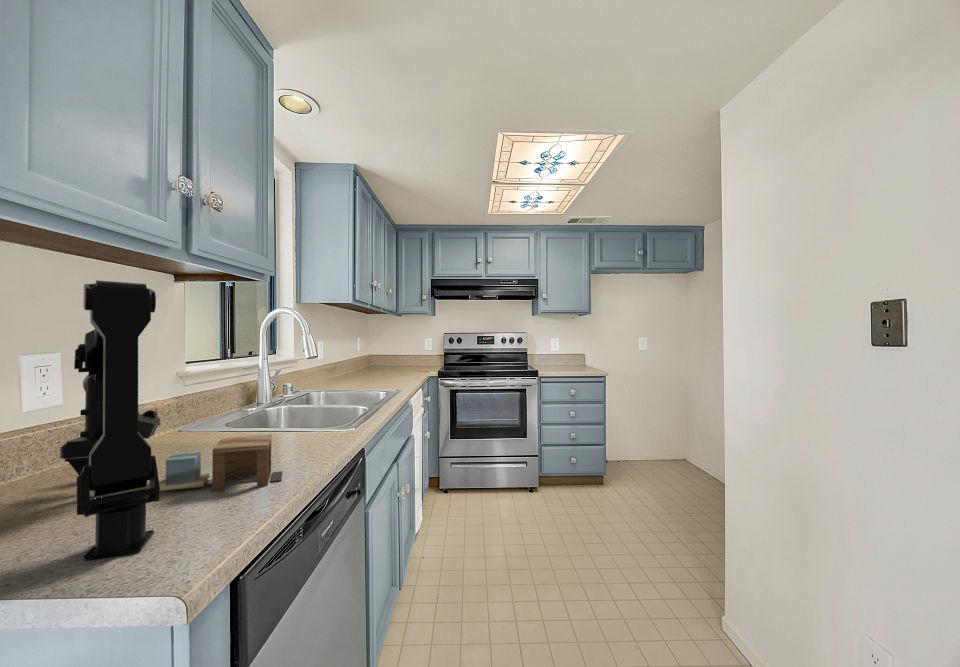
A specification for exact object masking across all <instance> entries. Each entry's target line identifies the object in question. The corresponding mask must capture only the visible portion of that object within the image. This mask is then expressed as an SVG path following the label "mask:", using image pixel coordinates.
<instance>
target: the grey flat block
mask: <svg viewBox="0 0 960 667" xmlns="http://www.w3.org/2000/svg"><path fill="white" fill-rule="evenodd" d="M283 474H284V472H283V471H282V470H280V471H273V472H272V475H271V478H270V483H277V482H278V483H279V482H282V477H283Z"/></svg>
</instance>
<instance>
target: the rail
mask: <svg viewBox="0 0 960 667" xmlns="http://www.w3.org/2000/svg"><path fill="white" fill-rule="evenodd" d="M270 477H271V474H270V473H268V481H269V480H270V479H271V478H270ZM249 482H251V483H252V482H257V474H253V475H243V476H234V477H225V485H233V484H242V483H243V484H244V483H249ZM205 487H206V488H207V487H212V479H208V480H207V481H206V483H205V484H204V486H200V487H191V488H182V489H181V490H187V489H197V488H205ZM177 490H180V489H172V490H163V491H160V493H161V492H168V491H169V492H170V491H177ZM123 493H127V492H123ZM117 494H122V493H114V494H106V495H101V496H96V497H94V496H90V500H92V499H94V498H96V499H97V498H101V497H107V496H112V495H117Z"/></svg>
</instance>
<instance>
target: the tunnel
mask: <svg viewBox="0 0 960 667" xmlns="http://www.w3.org/2000/svg"><path fill="white" fill-rule="evenodd" d="M270 473H272V434H263V435H250V436H249V435H248V436H246V435H245V436H237V437H235V436H234V437H223V438H220V440H219V441H218V442H217V443H216V445H214V447H213V448H212V478H211V480H212V486H211V488H212V489H211V490H212V491H211V492H212V493H213V492H221V491H225V478H233V477H243V476H253V475H257V481H256V487H265V486H268V485H269V480H268V474H270Z"/></svg>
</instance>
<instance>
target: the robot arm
mask: <svg viewBox="0 0 960 667" xmlns="http://www.w3.org/2000/svg"><path fill="white" fill-rule="evenodd" d="M156 298H157V296H156V292H155V291H154V290H153V289H152V288H148V286H147V284H146V283H136V282H125V281H124V282H123V281H122V282H121V281H112V280H111V281H110V280H109V281H108V280H97V279H96V280H95V283H85V284H83V309H84V311H90V312H89V315H90V316H89V321H90V324H91V325H92V327H93V328H94V329H92V330H90V331H89V332H86V333H85V334H84V335H85V336H84V342H83V343H80V344H78V345H77V348H75V350H74V363H73V366H74V368H73V369H74V370H77V372H78V373H88V374H87V375H86V376H85V377H84V379H83V381H82V388H83V390H84V391H85V406H84V408H83V409H81V410H80V413H79V414H80V416H83V417H84V416H85V417H84V420H85V421H84V430H83V431H80V432H79V437H75V438H74V439H71V440H69V441H67V442H65V443H64V444H63V445H62V446H61V447H60V451H59V452H60V454H59V455H60V459H62V460H63V459H64V461H65V462H67V463H68V464H69V465H70V466H71V467H72V469H73V470H74V471H75V472H76V474H77V475H78V476H77V477H76V515H77V516H84V518H87V517H90V516H94V515H95V532H94V533H95V534H94V535H95V536H94V538H95V541H94V542H95V543H94V546H92V547H91V548H90V549H88V551H87V552H86V553H85V555H84V556H83V560H84V561H87V560H96V559H99V558H101V559H102V558H105V557H106V558H107V557H108V558H109V557H114V556H120V555H128V554H134V553H139V552H141V551H142V550H143V549H144V547H145V546H146V545H147V544H148V542H149V541H150V539H151V538H152V537H153V535H154V534H155V530H154V529H153V530H151V529H150V530H147V529H146V526H147V524H146V522H147V504H149V503H153V502H154V503H156V502H159V501H160V495H161V492H160V486H159V472H158V467H157V458H156V455H152V447H151V446H150V444H149V442H148V441H147V440H146V439H150V438H151V437H152V436H155V434H156V431H157V429H158V427H159V426H160V425H161V418H159V416H158V411H156V410H152V409H148V410H146V411H145V412H143V413H142V414H141V413H139V336H141V335H142V333H143V331H144V330H145V329H146V328H147V326H148V325H149V323H150V322H151V320H152V313H154V314H155V312H156V306H157V300H156ZM148 481H149V486H150V488H148V489H142V490H137V491H132V492H127V493H122V494H117V495H112V496H107V497H102V498H96V499H90V491H94V497H96V496H101V495H106V494H111V493H116V492H122V491H127V490H132V489H137V488H142V487H146V485H147V482H148Z"/></svg>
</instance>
